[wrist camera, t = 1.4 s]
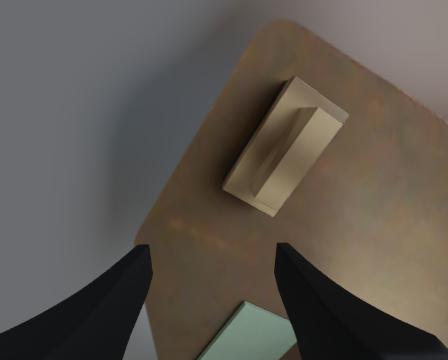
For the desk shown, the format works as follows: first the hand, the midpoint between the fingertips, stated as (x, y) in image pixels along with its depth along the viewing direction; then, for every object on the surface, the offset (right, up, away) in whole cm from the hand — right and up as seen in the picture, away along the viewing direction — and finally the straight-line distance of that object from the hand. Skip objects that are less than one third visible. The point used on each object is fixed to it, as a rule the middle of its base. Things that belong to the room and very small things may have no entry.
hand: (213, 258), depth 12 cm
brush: (+5, +7, +7) cm, 12 cm away
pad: (+3, -17, +16) cm, 24 cm away
